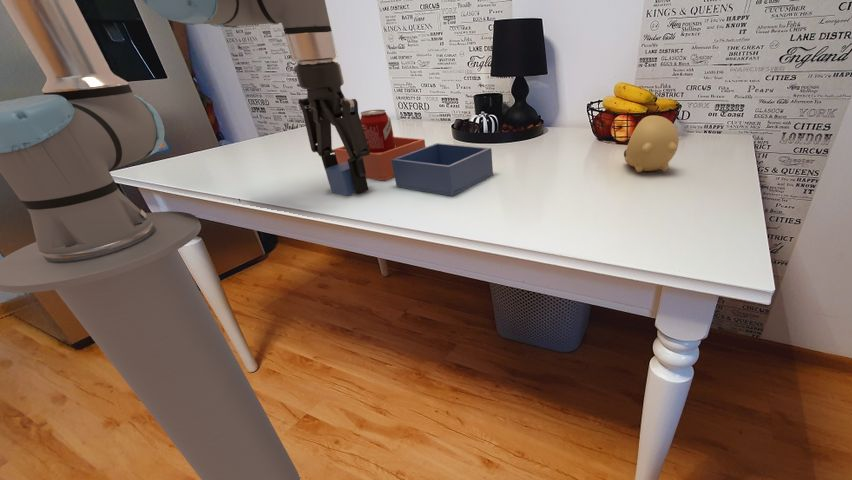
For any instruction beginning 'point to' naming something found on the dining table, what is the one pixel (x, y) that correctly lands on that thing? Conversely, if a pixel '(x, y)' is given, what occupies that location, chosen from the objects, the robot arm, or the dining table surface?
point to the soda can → (377, 131)
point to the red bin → (383, 157)
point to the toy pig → (652, 144)
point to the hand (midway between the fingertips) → (349, 189)
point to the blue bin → (443, 168)
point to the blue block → (340, 179)
